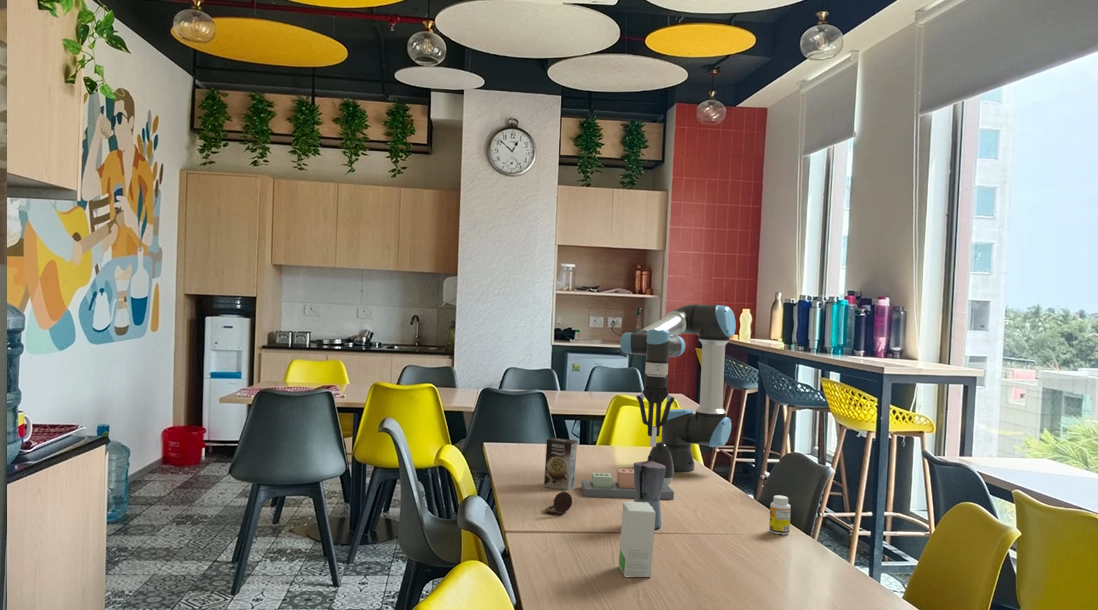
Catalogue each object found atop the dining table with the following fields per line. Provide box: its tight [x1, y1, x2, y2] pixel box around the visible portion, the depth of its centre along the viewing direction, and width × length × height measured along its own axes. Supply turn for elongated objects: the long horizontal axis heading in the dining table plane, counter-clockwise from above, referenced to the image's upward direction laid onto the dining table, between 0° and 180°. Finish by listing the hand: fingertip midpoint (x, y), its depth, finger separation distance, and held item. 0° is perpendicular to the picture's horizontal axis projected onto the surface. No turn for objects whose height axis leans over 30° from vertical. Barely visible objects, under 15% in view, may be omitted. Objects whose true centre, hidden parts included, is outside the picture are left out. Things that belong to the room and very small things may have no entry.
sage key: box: [591, 472, 613, 488], centre depth 267 cm, size 6×6×5 cm
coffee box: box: [543, 437, 578, 491], centre depth 272 cm, size 9×6×16 cm
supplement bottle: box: [768, 494, 791, 536], centre depth 228 cm, size 6×6×10 cm
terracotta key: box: [616, 468, 635, 488], centre depth 268 cm, size 6×6×5 cm
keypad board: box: [580, 479, 675, 501], centre depth 268 cm, size 29×13×2 cm, turn 94°
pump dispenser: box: [646, 441, 675, 486], centre depth 284 cm, size 10×10×15 cm
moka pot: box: [633, 454, 666, 530], centre depth 228 cm, size 10×15×20 cm, turn 161°
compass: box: [540, 490, 573, 515], centre depth 237 cm, size 8×8×7 cm
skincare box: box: [618, 501, 656, 578], centre depth 187 cm, size 8×7×16 cm
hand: (652, 445), depth 268 cm, fingers closed
